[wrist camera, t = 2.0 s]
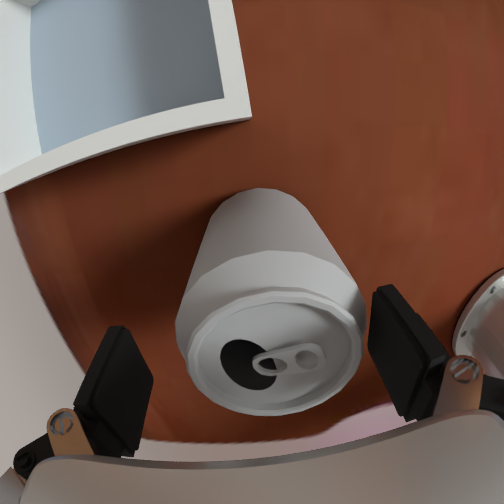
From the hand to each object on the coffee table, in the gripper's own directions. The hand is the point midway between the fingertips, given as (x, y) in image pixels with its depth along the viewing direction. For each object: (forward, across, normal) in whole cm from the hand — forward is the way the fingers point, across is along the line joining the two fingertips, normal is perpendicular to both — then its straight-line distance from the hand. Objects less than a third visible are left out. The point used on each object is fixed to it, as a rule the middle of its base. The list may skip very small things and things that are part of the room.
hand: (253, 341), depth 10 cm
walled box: (+11, +6, -16) cm, 20 cm away
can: (+11, -1, 0) cm, 11 cm away
